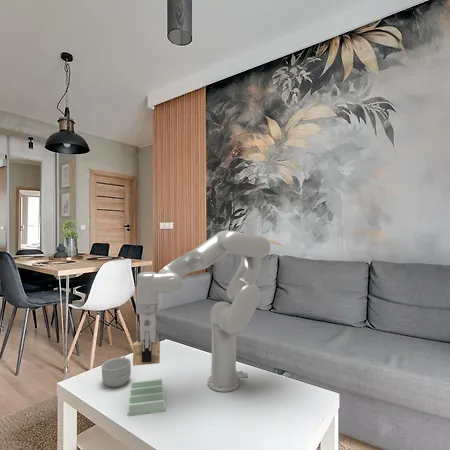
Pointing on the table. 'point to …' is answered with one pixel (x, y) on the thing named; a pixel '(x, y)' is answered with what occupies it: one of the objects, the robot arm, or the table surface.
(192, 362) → the table surface
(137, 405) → the dish rack
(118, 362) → the teacup
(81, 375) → the table surface
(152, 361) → the oak board
